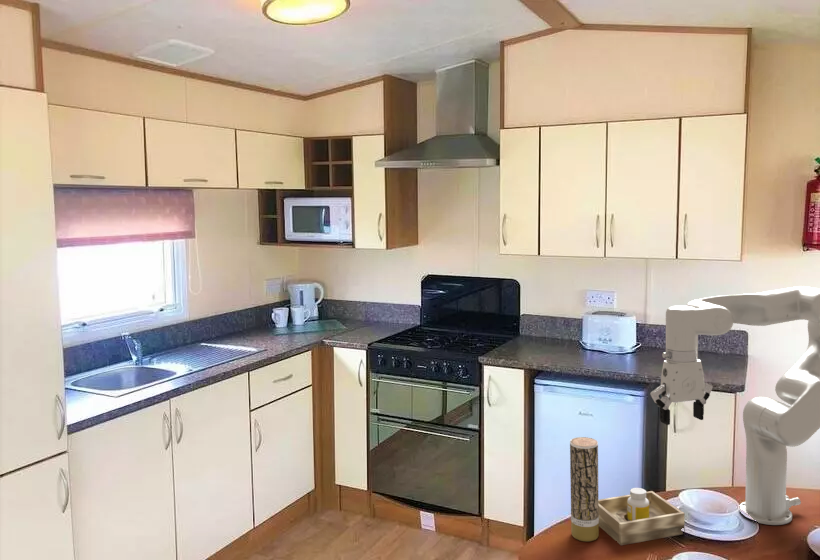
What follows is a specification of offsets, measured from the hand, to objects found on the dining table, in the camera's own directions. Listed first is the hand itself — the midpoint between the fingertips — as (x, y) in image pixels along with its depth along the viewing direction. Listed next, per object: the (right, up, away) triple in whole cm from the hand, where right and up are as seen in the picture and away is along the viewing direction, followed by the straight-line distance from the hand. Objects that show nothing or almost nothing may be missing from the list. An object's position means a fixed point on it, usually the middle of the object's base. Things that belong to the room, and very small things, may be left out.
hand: (681, 420), depth 175 cm
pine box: (-10, -28, +4) cm, 30 cm away
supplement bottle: (-10, -29, +4) cm, 30 cm away
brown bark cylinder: (-25, -30, 0) cm, 39 cm away
